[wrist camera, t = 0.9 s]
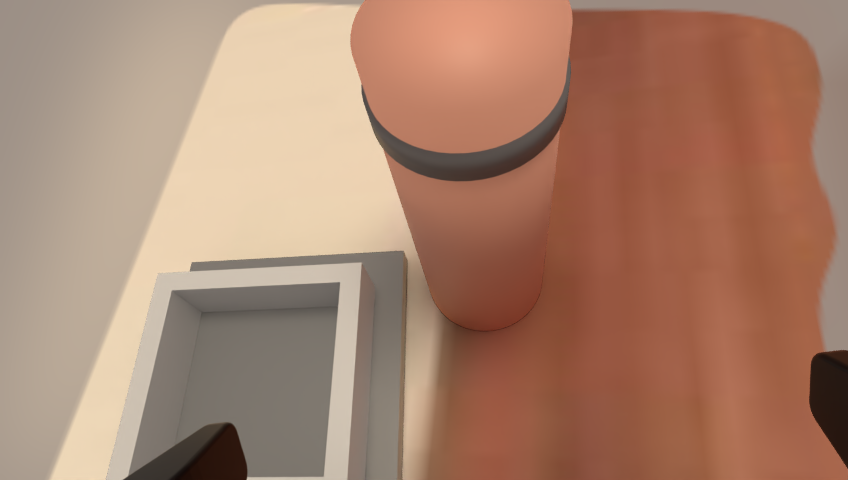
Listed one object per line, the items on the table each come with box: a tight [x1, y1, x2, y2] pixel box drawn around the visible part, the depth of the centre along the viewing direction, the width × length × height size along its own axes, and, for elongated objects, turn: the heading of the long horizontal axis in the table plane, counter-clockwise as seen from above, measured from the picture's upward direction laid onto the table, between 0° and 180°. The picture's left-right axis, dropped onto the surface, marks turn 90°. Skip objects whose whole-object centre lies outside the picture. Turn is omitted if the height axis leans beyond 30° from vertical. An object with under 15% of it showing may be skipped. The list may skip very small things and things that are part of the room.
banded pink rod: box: [351, 0, 572, 331], centre depth 19 cm, size 5×5×14 cm
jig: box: [106, 251, 407, 480], centre depth 21 cm, size 18×10×4 cm, turn 179°
